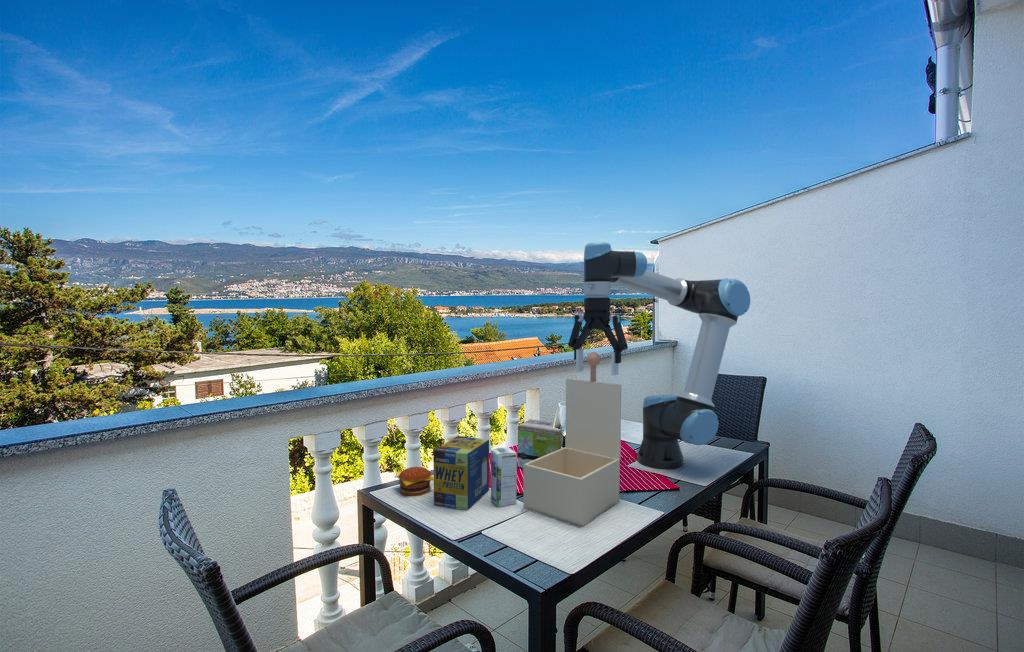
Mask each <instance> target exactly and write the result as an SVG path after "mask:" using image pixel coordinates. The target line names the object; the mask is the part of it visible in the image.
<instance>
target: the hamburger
mask: <svg viewBox="0 0 1024 652" xmlns="http://www.w3.org/2000/svg"><path fill="white" fill-rule="evenodd" d="M395 478H398V481H399V482H398V483H399V488H398V489H399V493H400V494H401V495H403V496H410V497H415V496H421V495H425V494H427V493H428V492H430V490H431V489H432V487H431V481H434V476H432V473H431V471H430V470H429V469H428V468H425V467H423V466H410V467H407V468H405V469H403V470H401V471H400V474H398V475H396V476H395Z"/></svg>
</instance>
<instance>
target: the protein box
mask: <svg viewBox="0 0 1024 652" xmlns="http://www.w3.org/2000/svg"><path fill="white" fill-rule="evenodd" d="M432 451H433V453H432V454H433V456H432V457H433V465H432V466H433V478H434V480H433V505H434V506H439V507H444V508H445V507H446V508H451V509H457V510H462V511H468V510H470V509H471V508H472V507H473V506H474V505H475V504H476V503H477V502H478V501H479V500H481V499H482V497H483V496H486V494H487V493H488V492H489V491H490V439H487V438H479V437H470V436H463V435H457V436H455V437H453V438H452V439H450V440H447V442H445V443H443V444H441V445H440V446H438V447H436V448H434V449H433V450H432Z"/></svg>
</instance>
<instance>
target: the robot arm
mask: <svg viewBox="0 0 1024 652" xmlns="http://www.w3.org/2000/svg"><path fill="white" fill-rule="evenodd" d="M647 268H648V259H647V256H646V255H645V254H644V253H643V252H642V251H641V252H640V251H635V250H633V251H630V250H629V251H628V250H626V251H625V250H621V251H620V250H613V249H612V247H611V243H609V242H605V241H602V242H601V241H599V242H598V241H596V242H589V243H587V244H585V246H584V254H583V279H584V281H583V292H584V293H583V295H584V296H585V298H584V299H583V309H584V313H583V314H575V315H574V323H573V326H572V330H571V334H570V337H569V340H568V344H567V345H568V347H569V348H570V347H571V348H572V349H573V355H574V356H573V359H574V361H575V372H577V373H578V372H584V349H583V348H582V346H583V344H584V343H585V341H586V339H587V338H588V336H589V334H590V333H591V331H592V330H601V331H602V332H603V333H604V336H606V339H607V341H608V342H609V344H610V346H611V348H612V350H613V351H611V369H610V370H611V376H618V375H619V364H621V363H622V352H623V351H625V350H628V348H629V346H628V344H627V340H626V336H625V333H624V330H623V326H622V320H621V319H622V318H621V315H619V314H617V315H611V301H612V300H611V298H610V297H609V296H611V291H612V290H611V288H612V287H611V284H615V285H617V286H622V287H623V288H624V287H625V288H628V289H630V290H634V291H637V292H639V293H642V294H645V295H649V296H653V297H655V298H657V299H662V300H665V301H667V303H668V304H669V305H670V306H674V307H676V308H680V309H682V310H684V311H688V312H691V313H693V314H694V313H695V314H698V317H699V318H700V320H701V324H700V328H699V332H698V336H697V339H696V344H695V348H694V351H693V355H692V358H691V362H690V366H689V368H688V369H689V370H688V373H687V377H686V381H685V385H684V388H683V392H682V393H680V394H678V395H674V394H673V395H672V394H658V395H657V394H656V395H649V396H646V397H644V399H643V403H642V440H641V443H640V446H639V449H638V452H637V461H638V463H639V464H642V465H644V466H646V467H650V468H655V469H666V470H667V469H677V468H680V467H682V466H683V465H684V456H683V455H684V454H683V452H682V450H681V449H682V448H681V446H680V443H679V440H680V441H682V442H684V443H686V444H689V445H694V446H703V445H706V444H708V442H711V441H712V439H714V437H715V436H716V434H717V432H718V429H719V424H720V423H719V420H718V415H717V413H715V412H714V411H715V407H716V406H715V404H714V402H713V400H712V398H713V394H714V389H715V386H716V382H717V380H718V379H717V378H718V376H719V371H720V367H721V363H722V361H723V360H722V359H723V355H724V351H725V348H726V344H727V340H728V336H729V332H730V329H731V328H732V327H733V326H736V324H737V323H738V318H739V317H741V316H743V315H745V313H747V312H748V311H749V309H750V306H751V295H750V291H749V290H748V287H747V285H746V284H745V283H744V282H743V281H741V280H739V279H736V278H723V279H722V278H721V279H707V280H706V279H705V280H687V279H684V278H681V277H680V278H679V277H678V278H672V277H669V276H666V275H664V274H660V273H657V272H655V271H651V270H649V269H647ZM583 322H585V324H584V325H583ZM610 322H611V323H612V326H613V329H614V331H613V330H612V326H611V325H610ZM582 326H583V327H582ZM581 329H582V331H581Z"/></svg>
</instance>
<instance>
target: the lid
mask: <svg viewBox="0 0 1024 652" xmlns="http://www.w3.org/2000/svg"><path fill="white" fill-rule="evenodd" d="M585 358H586V362H587V363H586V364H588V365H589V366H590V376H589V377H590V379H589V380H584V379H577V378H576V379H574V378H566V379H565V424H566V435H565V447H566V448H571V449H575V450H580V451H584V452H589V453H593V454H598V455H602V456H607V457H611V458H616V459H620V460H621V446H622V445H621V443H622V442H621V437H622V436H621V433H622V431H621V430H622V384H619V383H610V382H603V381H597V366H598V365H600V364H601V355H600V354H599V353H598V352H595V351H591V352H589V353H588V354H587V355H586V357H585Z"/></svg>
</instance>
